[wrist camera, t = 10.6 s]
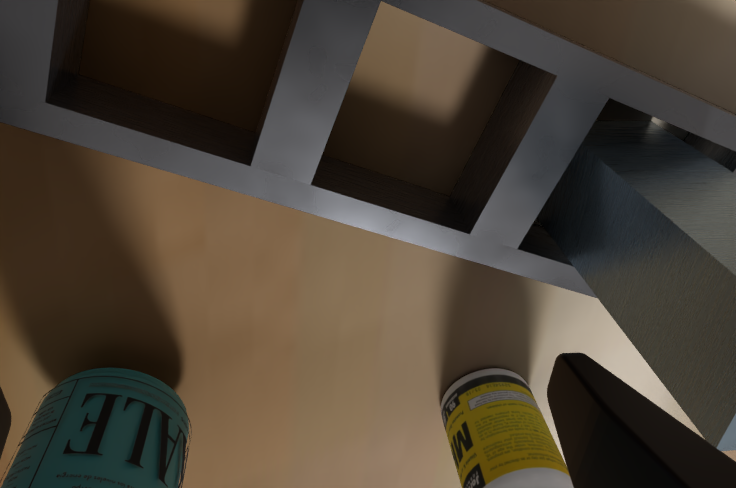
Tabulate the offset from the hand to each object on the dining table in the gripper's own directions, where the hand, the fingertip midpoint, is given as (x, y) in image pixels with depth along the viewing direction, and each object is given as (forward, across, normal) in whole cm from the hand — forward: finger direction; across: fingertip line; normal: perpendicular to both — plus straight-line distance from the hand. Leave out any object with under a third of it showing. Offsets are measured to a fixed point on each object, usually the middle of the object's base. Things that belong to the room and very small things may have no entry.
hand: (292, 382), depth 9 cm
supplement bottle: (+13, -9, +15) cm, 22 cm away
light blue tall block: (+13, -12, +2) cm, 18 cm away
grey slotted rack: (+13, -4, 0) cm, 14 cm away
